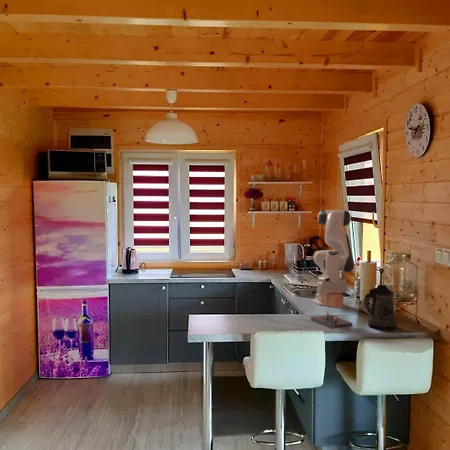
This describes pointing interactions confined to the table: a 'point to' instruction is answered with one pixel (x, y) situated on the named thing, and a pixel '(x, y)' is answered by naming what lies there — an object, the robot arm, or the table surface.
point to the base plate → (331, 321)
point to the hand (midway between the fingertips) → (331, 300)
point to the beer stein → (381, 309)
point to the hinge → (364, 306)
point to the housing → (333, 300)
